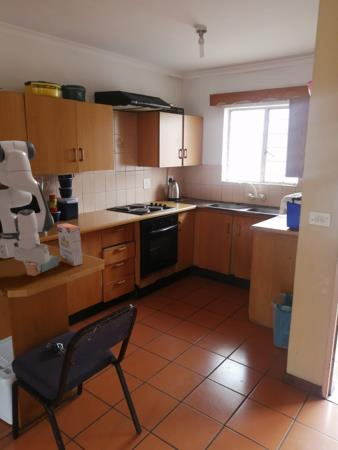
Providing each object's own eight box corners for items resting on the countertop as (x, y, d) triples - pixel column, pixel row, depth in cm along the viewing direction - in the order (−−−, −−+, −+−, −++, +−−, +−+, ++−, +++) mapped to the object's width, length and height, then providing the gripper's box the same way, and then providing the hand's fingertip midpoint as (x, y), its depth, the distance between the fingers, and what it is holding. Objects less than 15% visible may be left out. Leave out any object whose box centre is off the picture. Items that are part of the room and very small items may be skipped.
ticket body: (34, 271, 177) (33, 261, 176) (51, 264, 188) (50, 254, 187) (42, 272, 175) (41, 262, 174) (58, 264, 186) (57, 255, 185)
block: (27, 274, 173) (25, 264, 172) (33, 272, 176) (32, 262, 175) (34, 275, 171) (33, 265, 170) (40, 273, 174) (39, 263, 173)
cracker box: (60, 261, 191) (56, 224, 187) (70, 259, 196) (66, 222, 191) (73, 267, 182) (69, 228, 177) (83, 264, 186) (79, 225, 181)
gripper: (51, 243, 169) (54, 270, 172) (19, 239, 177) (23, 265, 180) (41, 246, 163) (45, 274, 166) (9, 243, 171) (13, 269, 174)
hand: (33, 269), depth 173 cm, fingers closed on block, 5 cm apart
